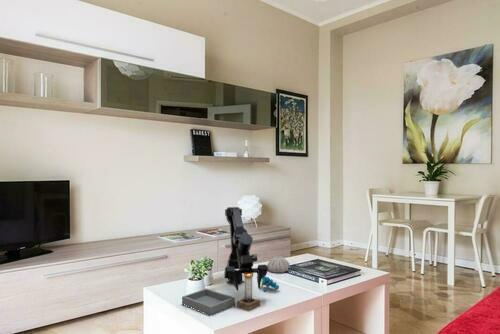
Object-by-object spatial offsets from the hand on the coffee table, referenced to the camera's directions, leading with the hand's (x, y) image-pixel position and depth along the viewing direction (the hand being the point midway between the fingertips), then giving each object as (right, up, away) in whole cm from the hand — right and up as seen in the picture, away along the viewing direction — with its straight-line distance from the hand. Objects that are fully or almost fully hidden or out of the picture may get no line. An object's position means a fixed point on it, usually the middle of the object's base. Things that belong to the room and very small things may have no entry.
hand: (248, 289), depth 150 cm
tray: (-17, -7, +2) cm, 19 cm away
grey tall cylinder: (0, -8, +1) cm, 7 cm away
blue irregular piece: (+10, -8, +22) cm, 25 cm away
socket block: (0, -7, +1) cm, 7 cm away
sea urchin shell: (+17, -8, +54) cm, 58 cm away
